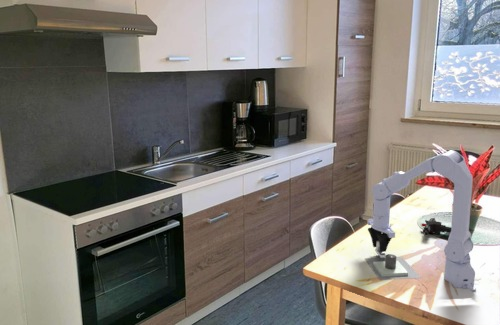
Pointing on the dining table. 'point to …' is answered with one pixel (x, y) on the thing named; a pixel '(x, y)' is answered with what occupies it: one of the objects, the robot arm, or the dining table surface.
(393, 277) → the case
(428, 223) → the black power drill
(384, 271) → the lid
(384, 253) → the bolt
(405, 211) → the dining table surface
